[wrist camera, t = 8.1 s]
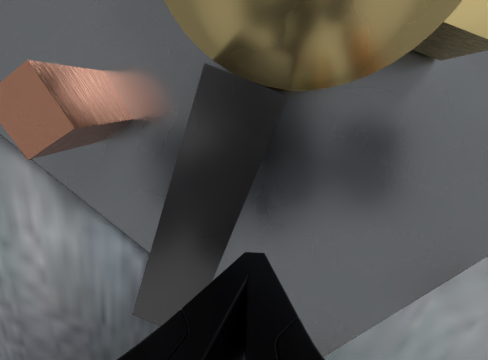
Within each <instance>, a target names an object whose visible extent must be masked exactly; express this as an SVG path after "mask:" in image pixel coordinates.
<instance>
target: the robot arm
mask: <svg viewBox="0 0 488 360" xmlns="http://www.w3.org/2000/svg"><path fill="white" fill-rule="evenodd" d="M117 360H324V358H323V357H322V355H321V354H320V352H319V351H318V349H317V348H316V346H315V345H314V343H313V341H312V339H311V338H310V336H309V334H308V333H307V331H306V329H305V327H304V325H303V324H302V322H301V320H300V319H299V316H298V314H297V313H296V311H295V309H294V307H293V305H292V303H291V301H290V300H289V298H288V296H287V294H286V292H285V290H284V288H283V286H282V285H281V283H280V281H279V279H278V277H277V275H276V273H275V271H274V270H273V268H272V266H271V264H270V262H269V260H268V258H267V257H266V255H265V253H257V252H245V253H243V254H242V255H241V256H240V257H239V258H238V259H237V260H235V261H234V262H233V263H232V264H231V265H230V266H229V267H228V268H226V269H225V270H224V271H223V272H222V273H221V274H220V275H219V276H217V277H216V278H215V279H214V280H213V281H212V282H211V283H210V284H208V285H207V286H206V287H205V288H204V289H203V290H202V291H201V292H199V293H198V294H197V295H196V296H195V297H194V298H193V299H191V300H190V301H189V302H188V303H187V304H186V305H185V306H184V307H182V309H181V310H179V311H178V312H177V313H176V314H174V315H173V316H172V317H171V318H170V319H169V320H168V321H166V322H165V323H164V324H163V325H162V326H160V327H159V328H158V329H157V330H156V331H154V332H153V333H152V334H150V335H149V336H148V337H147V338H145V339H144V340H143V341H141V342H140V343H139V344H137V345H136V346H135V347H133V348H132V349H131V350H129V351H128V352H127V353H125V354H124V355H123V356H121V357H120V358H118V359H117Z"/></svg>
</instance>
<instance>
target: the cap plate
mask: <svg viewBox="0 0 488 360" xmlns="http://www.w3.org/2000/svg"><path fill="white" fill-rule="evenodd" d="M204 63H206V64H208V65H211V66H213V67H216V68H218V69H221V70H224V71H226V72H229V73H231V74H234V73H232V72H230V71H228V70H227V69H225V68H224V67H222V66H221V65H219V64H218V63H216V62H215V61H213V60H212V59H211V58H210V57H208V56H207V55H206V54H205V53H204V52H203V51H202V50H200V49H199V48H198V47H197V46H196V45H195V43H194V42H193V41H192V40H191V39H190V38H189V37H188V36H187V34H186V33H185V32H184V31H183V30H182V28H181V27H180V25H179V24H178V22H177V21H176V20H175V18H174V17H173V15H172V14H171V12H170V10H169V8H168V7H167V5H166V3H165V1H164V0H0V134H1V135H2V136H3V137H5V138H6V139H7V140H8V141H10V142H11V143H12V144H13V145H15V146H16V147H17V148H18V149H20V150H21V151H22V153H23V154H24V155H25V157H26V158H27V159H28V160H30V159H32V160H33V161H35V162H36V163H37V164H38V165H40V166H41V167H42V168H43V169H45V170H46V171H47V172H49V173H50V174H51V175H52V176H54V177H55V178H56V179H57V180H59V181H60V182H61V183H62V184H64V185H65V186H66V187H67V188H69V189H70V190H71V191H72V192H74V193H75V194H76V195H77V196H79V197H80V198H81V199H82V200H84V201H85V202H86V203H88V204H89V205H90V206H91V207H93V208H94V209H95V210H96V211H98V212H99V213H100V214H101V215H103V216H104V217H105V218H106V219H108V220H109V221H110V222H111V223H113V224H114V225H115V226H116V227H118V228H119V229H120V230H121V231H123V232H124V233H125V234H126V235H128V236H129V237H130V238H132V239H133V240H134V241H135V242H137V243H138V244H139V245H140V246H142V247H143V248H144V249H145V250H147V251H148V252H149V253H150V251H151V248H152V244H153V241H154V237H155V234H156V230H157V227H158V223H159V220H160V216H161V213H162V209H163V206H164V202H165V199H166V195H167V192H168V188H169V185H170V181H171V178H172V174H173V171H174V167H175V164H176V160H177V157H178V153H179V150H180V146H181V143H182V139H183V136H184V132H185V129H186V125H187V122H188V118H189V115H190V111H191V108H192V104H193V101H194V97H195V94H196V90H197V87H198V83H199V80H200V76H201V73H202V69H203V66H204ZM234 75H236V74H234ZM236 76H238V75H236ZM239 77H240V76H239ZM241 78H242V77H241ZM274 91H276V90H274ZM276 92H279V93H281V94H284V95H287V96H288V98H287V101H286V103H285V106H284V108H283V111H282V113H281V115H280V118H279V120H278V123H277V125H276V128H275V130H274V132H273V135H272V137H271V140H270V142H269V145H268V147H267V149H266V152H265V154H264V157H263V159H262V162H261V164H260V166H259V169H258V171H257V174H256V176H255V179H254V181H253V183H252V186H251V188H250V191H249V193H248V196H247V198H246V200H245V203H244V205H243V208H242V210H241V213H240V215H239V217H238V220H237V222H236V225H235V227H234V230H233V232H232V234H231V237H230V239H229V242H228V244H227V247H226V249H225V251H224V254H223V256H222V259H221V261H220V264H219V266H218V268H217V271H216V273H215V276H214V278H213V280H214V279H215V278H216V277H217V276H219V275H220V274H221V273H222V272H223V271H224V270H225V269H226V268H228V267H229V266H230V265H231V264H232V263H233V262H234V261H235V260H237V259H238V258H239V257H240V256H241V255H242V254H243V253H245V252H257V253H265V255H266V257H267V258H268V260H269V262H270V264H271V266H272V268H273V270H274V271H275V273H276V275H277V277H278V279H279V281H280V283H281V285H282V286H283V288H284V290H285V292H286V294H287V296H288V298H289V300H290V301H291V303H292V305H293V307H294V309H295V311H296V313H297V314H298V316H299V319H300V320H301V322H302V324H303V325H304V327H305V329H306V331H307V333H308V334H309V336H310V338H311V339H312V341H313V343H314V345H315V346H316V348H317V349H318V351H319V352H320V354H321V355H322V357H324V356H326V355H328V354H329V353H331V352H333V351H334V350H336V349H337V348H339V347H341V346H342V345H344V344H346V343H347V342H349V341H350V340H352V339H354V338H355V337H357V336H359V335H360V334H362V333H363V332H365V331H367V330H368V329H370V328H372V327H373V326H375V325H376V324H378V323H380V322H381V321H383V320H385V319H386V318H388V317H389V316H391V315H393V314H394V313H396V312H398V311H399V310H401V309H402V308H404V307H406V306H407V305H409V304H411V303H412V302H414V301H415V300H417V299H419V298H420V297H422V296H424V295H425V294H427V293H429V292H430V291H432V290H433V289H435V288H437V287H438V286H440V285H442V284H443V283H445V282H446V281H448V280H450V279H451V278H453V277H455V276H456V275H458V274H459V273H461V272H463V271H464V270H466V269H468V268H469V267H471V266H472V265H474V264H476V263H477V262H479V261H481V260H482V259H484V258H485V257H487V256H488V50H487V51H482V52H478V53H473V54H469V55H464V56H460V57H455V58H451V59H446V60H442V61H440V60H437V59H434V58H432V57H429V56H427V55H424V54H422V53H419V52H417V51H414V50H411V51H410V52H408V53H407V54H405V55H404V56H402V57H401V58H399V59H398V60H396V61H395V62H393V63H392V64H390V65H388V66H386V67H384V68H382V69H380V70H378V71H376V72H374V73H373V74H371V75H368V76H366V77H363V78H360V79H358V80H355V81H352V82H350V83H346V84H342V85H338V86H334V87H329V88H324V89H319V90H313V91H304V92H282V91H276Z"/></svg>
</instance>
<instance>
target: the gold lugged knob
mask: <svg viewBox="0 0 488 360" xmlns="http://www.w3.org/2000/svg"><path fill="white" fill-rule="evenodd" d="M164 1H165V3H166V5H167V7H168V8H169V10H170V12H171V14H172V15H173V17H174V18H175V20H176V21H177V22H178V24H179V25H180V27H181V28H182V30H183V31H184V32H185V33H186V34H187V36H188V37H189V38H190V39H191V40H192V41H193V42H194V43H195V45H196V46H197V47H198V48H199V49H200V50H202V51H203V52H204V53H205V54H206V55H207V56H208V57H210V58H211V59H212V60H213V61H215V62H216V63H218V64H219V65H221V66H222V67H224V68H225V69H227V70H228V71H230V72H232V73H234V74H236V75H238V76H236V75H234V74H231V73H229V72H226V71H224V70H221V69H218V68H216V67H213V66H211V65H208V64H206V63H204V66H203V69H202V73H201V76H200V80H199V83H198V87H197V90H196V94H195V97H194V101H193V104H192V108H191V111H190V115H189V118H188V122H187V125H186V129H185V132H184V136H183V139H182V143H181V146H180V150H179V153H178V157H177V160H176V164H175V167H174V171H173V174H172V178H171V181H170V185H169V188H168V192H167V195H166V199H165V202H164V206H163V209H162V213H161V216H160V220H159V223H158V227H157V230H156V234H155V237H154V241H153V244H152V248H151V251H150V255H149V258H148V262H147V265H146V269H145V272H144V276H143V279H142V283H141V286H140V290H139V294H138V297H137V301H136V304H135V308H134V311H133V315H135V316H137V317H140V318H142V319H145V320H147V321H150V322H152V323H155V324H157V325H160V326H162V325H163V324H164V323H165V322H166V321H168V320H169V319H170V318H171V317H172V316H173V315H174V314H176V313H177V312H178V311H179V310H181V309H182V307H184V306H185V305H186V304H187V303H188V302H189V301H190V300H191V299H193V298H194V297H195V296H196V295H197V294H198V293H199V292H201V291H202V290H203V289H204V288H205V287H206V286H207V285H208V284H210V283H211V282H212V281H213V278H214V276H215V273H216V271H217V268H218V266H219V264H220V261H221V259H222V256H223V254H224V251H225V249H226V247H227V244H228V242H229V239H230V237H231V234H232V232H233V230H234V227H235V225H236V222H237V220H238V217H239V215H240V213H241V210H242V208H243V205H244V203H245V200H246V198H247V196H248V193H249V191H250V188H251V186H252V183H253V181H254V179H255V176H256V174H257V171H258V169H259V166H260V164H261V162H262V159H263V157H264V154H265V152H266V149H267V147H268V145H269V142H270V140H271V137H272V135H273V132H274V130H275V128H276V125H277V123H278V120H279V118H280V115H281V113H282V111H283V108H284V106H285V103H286V101H287V98H288V96H287V95H284V94H281V93H279V92H276V91H282V92H304V91H313V90H319V89H324V88H329V87H334V86H338V85H342V84H346V83H350V82H352V81H355V80H358V79H360V78H363V77H366V76H368V75H371V74H373V73H374V72H376V71H378V70H380V69H382V68H384V67H386V66H388V65H390V64H392V63H393V62H395V61H396V60H398V59H399V58H401V57H402V56H404V55H405V54H407V53H408V52H410V51H411V50H414V51H417V52H419V53H422V54H424V55H427V56H429V57H432V58H434V59H437V60H440V61H442V60H446V59H451V58H455V57H460V56H464V55H469V54H473V53H478V52H482V51H487V50H488V0H164ZM239 76H240V77H239ZM241 77H242V78H241ZM274 90H276V91H274Z"/></svg>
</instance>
